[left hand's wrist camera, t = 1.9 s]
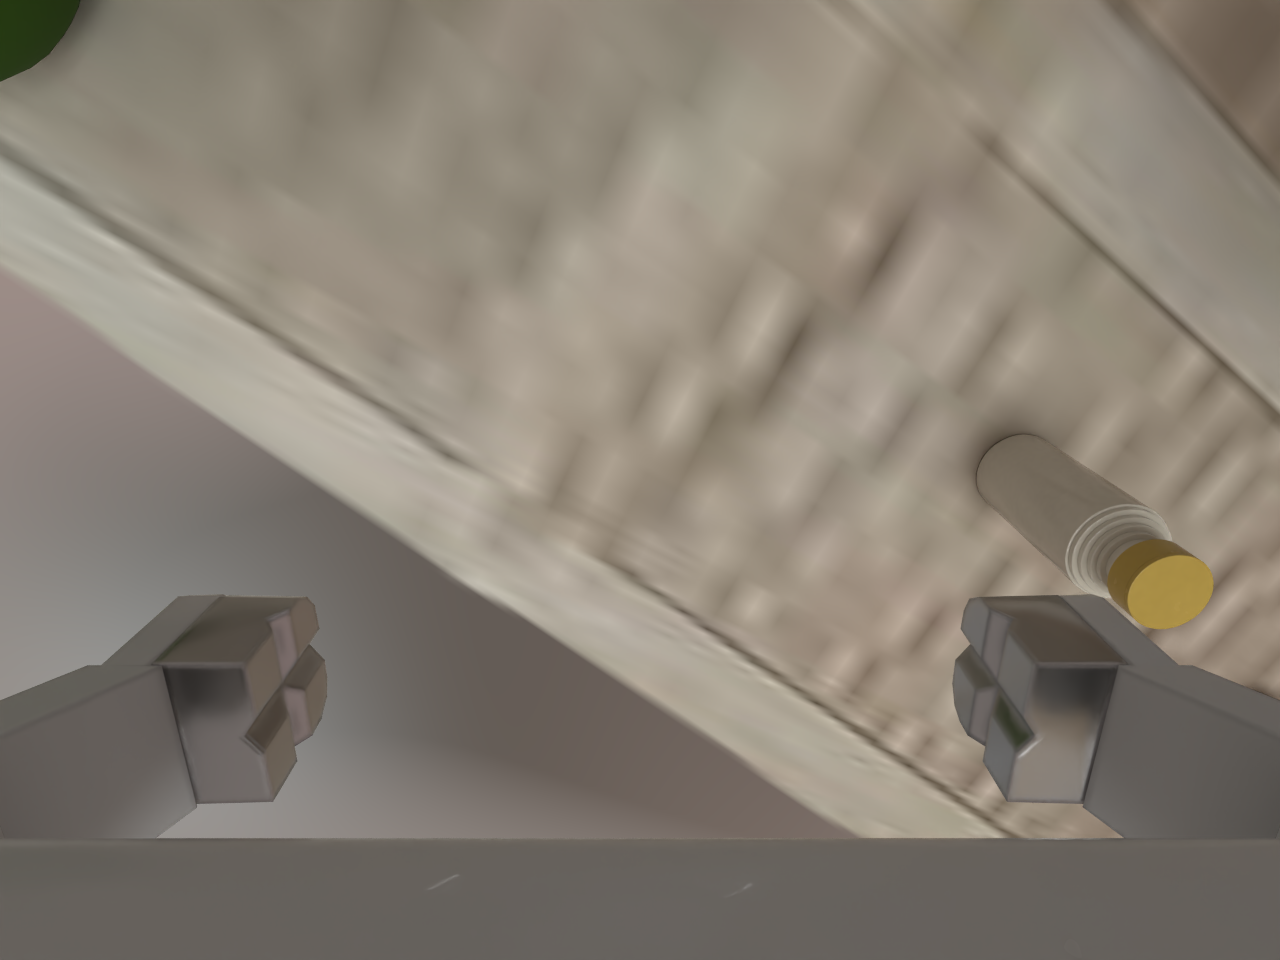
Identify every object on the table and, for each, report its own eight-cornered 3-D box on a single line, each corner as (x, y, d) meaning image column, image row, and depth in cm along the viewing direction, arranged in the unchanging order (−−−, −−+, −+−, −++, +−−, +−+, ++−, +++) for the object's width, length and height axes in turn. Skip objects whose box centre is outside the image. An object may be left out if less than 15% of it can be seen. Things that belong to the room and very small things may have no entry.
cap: (1116, 621, 46) (1136, 640, 44) (1099, 556, 44) (1119, 573, 43) (1195, 593, 45) (1220, 611, 43) (1181, 526, 44) (1205, 542, 42)
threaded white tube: (987, 522, 62) (1120, 653, 45) (966, 453, 60) (1096, 563, 43) (1066, 492, 61) (1233, 614, 44) (1048, 421, 59) (1214, 520, 42)
